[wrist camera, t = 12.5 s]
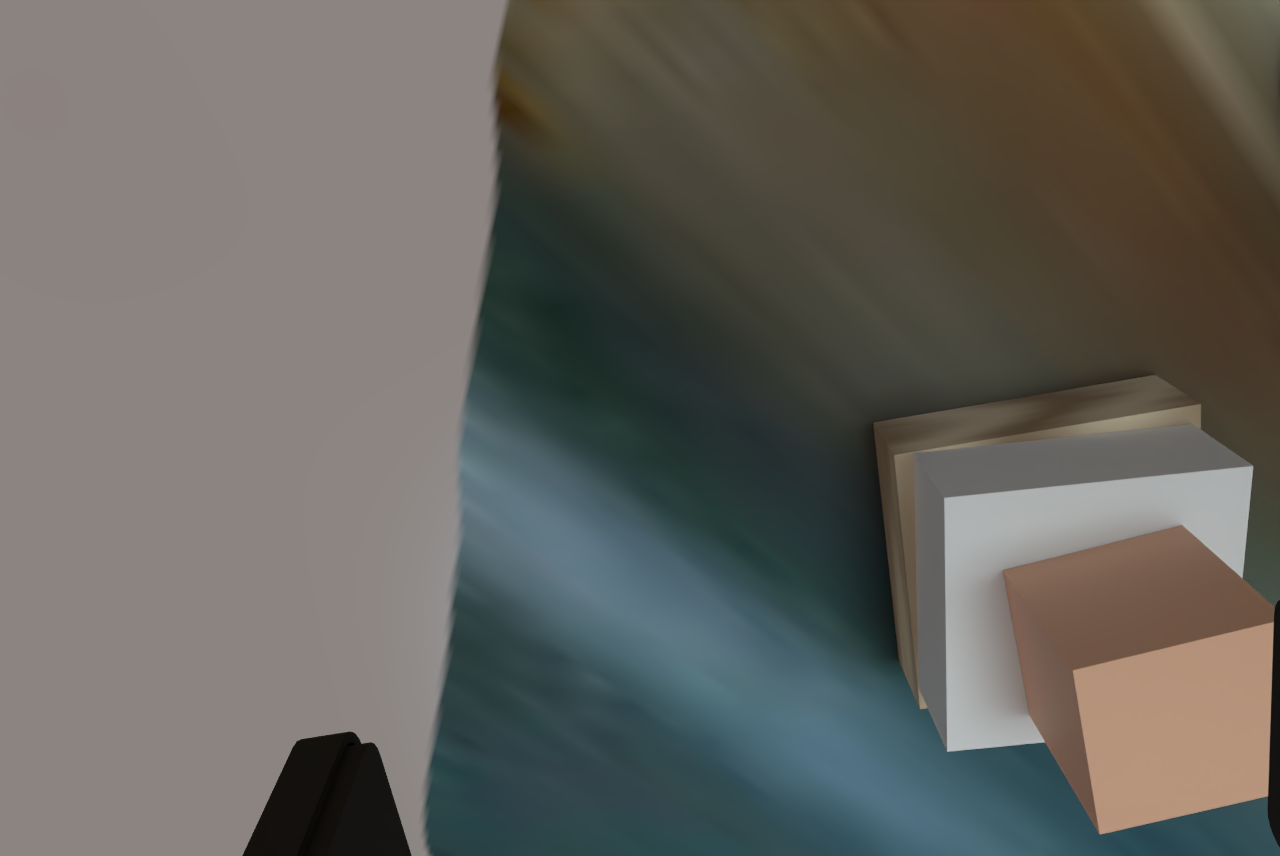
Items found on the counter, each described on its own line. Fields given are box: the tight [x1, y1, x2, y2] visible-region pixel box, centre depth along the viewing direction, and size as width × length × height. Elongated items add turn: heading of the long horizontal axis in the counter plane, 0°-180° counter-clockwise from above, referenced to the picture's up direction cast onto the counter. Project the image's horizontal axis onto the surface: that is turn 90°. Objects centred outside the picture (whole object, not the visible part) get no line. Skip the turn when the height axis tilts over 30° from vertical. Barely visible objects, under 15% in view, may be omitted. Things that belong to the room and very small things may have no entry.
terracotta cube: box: [1003, 525, 1275, 834], centre depth 34 cm, size 6×6×6 cm
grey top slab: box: [914, 424, 1253, 752], centre depth 39 cm, size 10×10×4 cm
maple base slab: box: [873, 375, 1201, 709], centre depth 42 cm, size 11×11×4 cm
